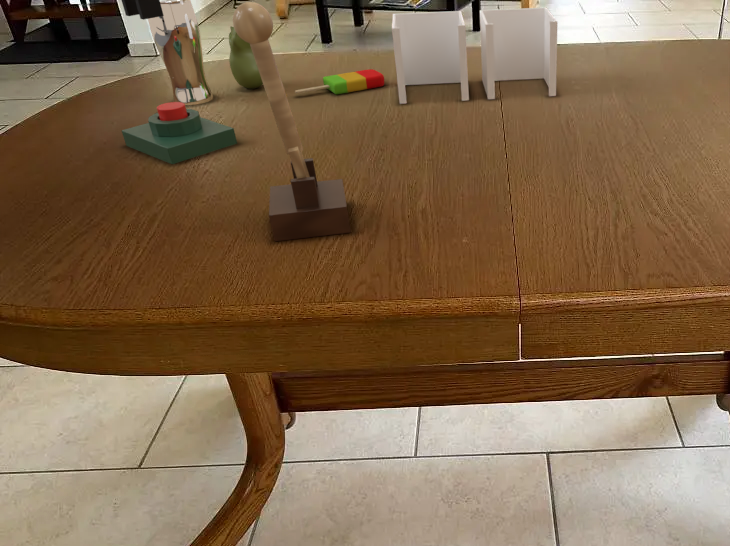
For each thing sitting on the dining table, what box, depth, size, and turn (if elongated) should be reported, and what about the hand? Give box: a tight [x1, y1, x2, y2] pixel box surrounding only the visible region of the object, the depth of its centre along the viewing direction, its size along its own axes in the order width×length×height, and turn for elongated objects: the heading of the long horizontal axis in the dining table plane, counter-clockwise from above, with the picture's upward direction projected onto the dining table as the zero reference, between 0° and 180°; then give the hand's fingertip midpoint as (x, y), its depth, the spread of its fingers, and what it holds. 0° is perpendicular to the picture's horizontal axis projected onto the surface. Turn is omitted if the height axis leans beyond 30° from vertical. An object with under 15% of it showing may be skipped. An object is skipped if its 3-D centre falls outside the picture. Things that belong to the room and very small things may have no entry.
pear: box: [228, 25, 264, 90], centre depth 123 cm, size 6×5×10 cm
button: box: [156, 101, 188, 121], centre depth 101 cm, size 4×4×2 cm
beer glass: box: [147, 0, 214, 106], centre depth 116 cm, size 7×7×15 cm
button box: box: [121, 108, 238, 165], centre depth 102 cm, size 12×10×4 cm
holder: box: [268, 157, 352, 242], centre depth 81 cm, size 8×8×6 cm
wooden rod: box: [232, 1, 310, 178], centre depth 74 cm, size 18×4×4 cm
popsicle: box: [294, 68, 385, 95], centre depth 123 cm, size 6×15×2 cm, turn 122°
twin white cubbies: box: [391, 7, 558, 105], centre depth 119 cm, size 25×11×11 cm, turn 96°
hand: (144, 15), depth 94 cm, fingers open, 3 cm apart
